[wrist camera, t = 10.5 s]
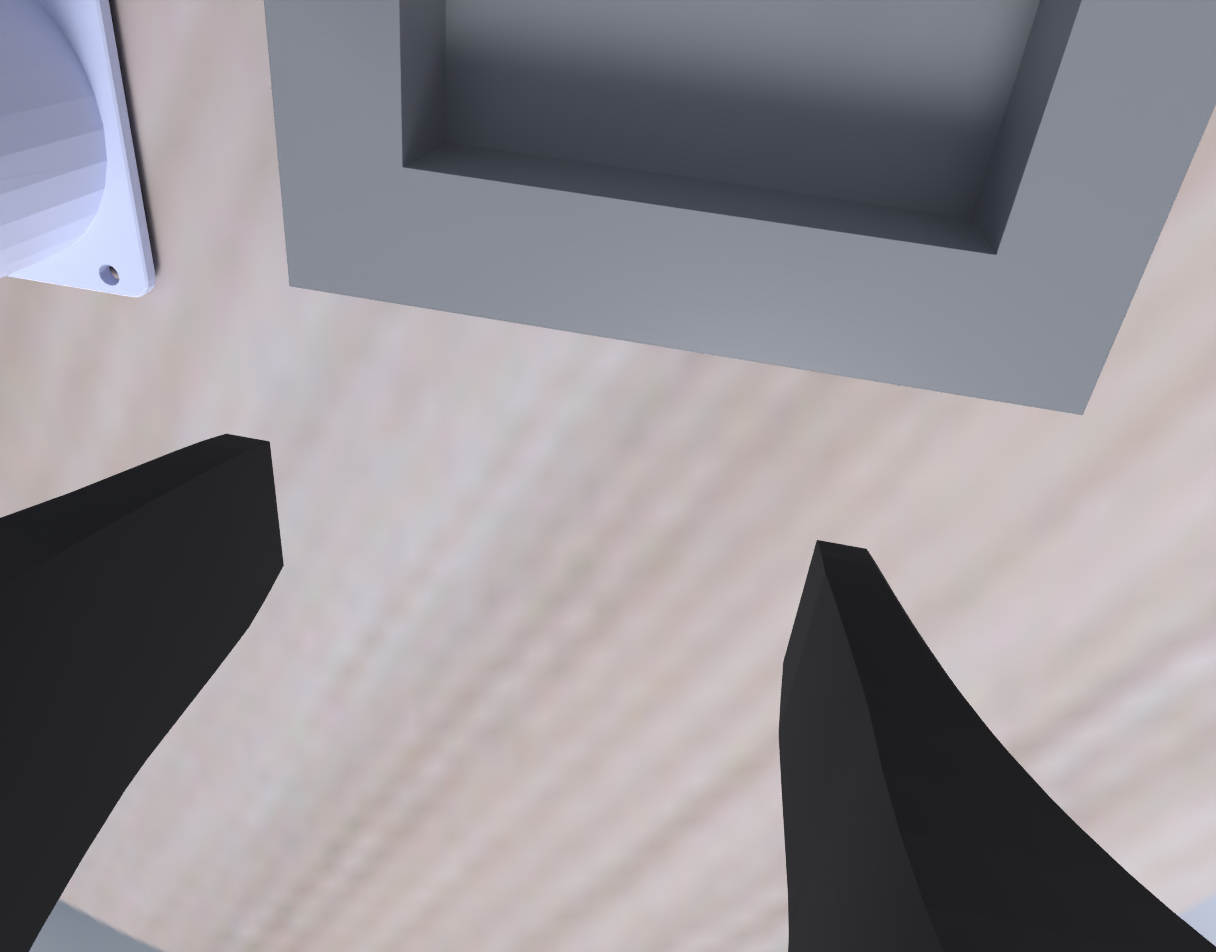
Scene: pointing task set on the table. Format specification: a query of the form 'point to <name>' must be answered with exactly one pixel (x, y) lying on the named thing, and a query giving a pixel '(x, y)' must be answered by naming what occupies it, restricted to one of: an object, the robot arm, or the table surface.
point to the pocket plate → (751, 172)
